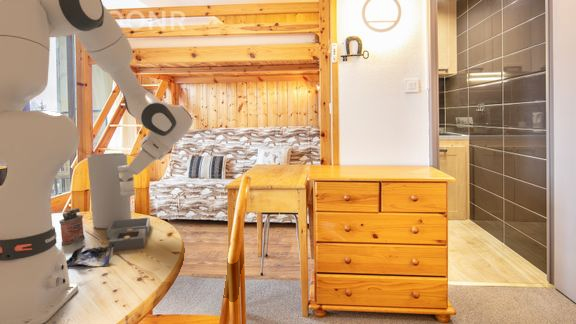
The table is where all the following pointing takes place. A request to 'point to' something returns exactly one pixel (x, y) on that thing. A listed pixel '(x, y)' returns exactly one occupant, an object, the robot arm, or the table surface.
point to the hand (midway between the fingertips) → (124, 178)
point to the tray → (128, 225)
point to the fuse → (127, 186)
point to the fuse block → (128, 239)
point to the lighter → (71, 227)
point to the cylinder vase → (107, 189)
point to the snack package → (91, 256)
